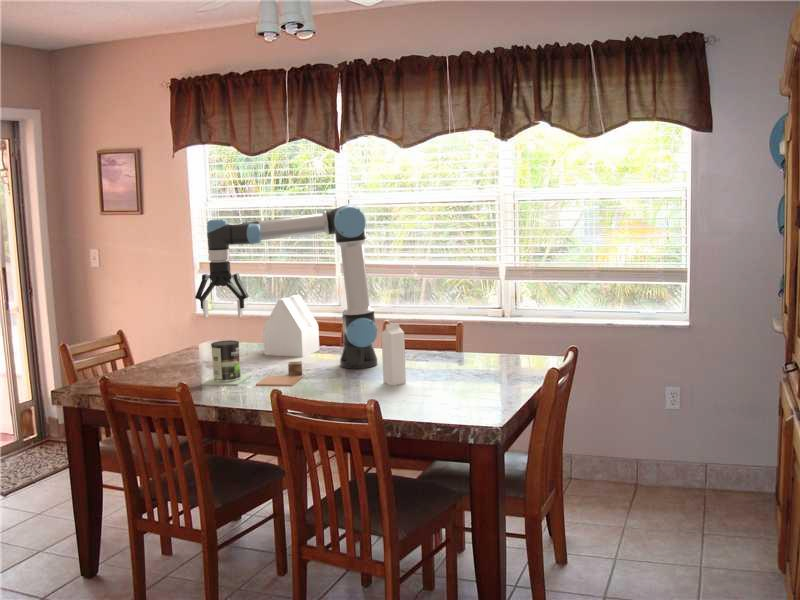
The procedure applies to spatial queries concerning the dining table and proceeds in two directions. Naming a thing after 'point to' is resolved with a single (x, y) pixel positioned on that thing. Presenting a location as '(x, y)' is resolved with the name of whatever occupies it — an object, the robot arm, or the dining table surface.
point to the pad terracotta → (279, 380)
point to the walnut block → (295, 368)
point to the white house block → (291, 329)
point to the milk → (393, 355)
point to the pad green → (237, 382)
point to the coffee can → (226, 361)
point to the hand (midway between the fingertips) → (223, 317)
